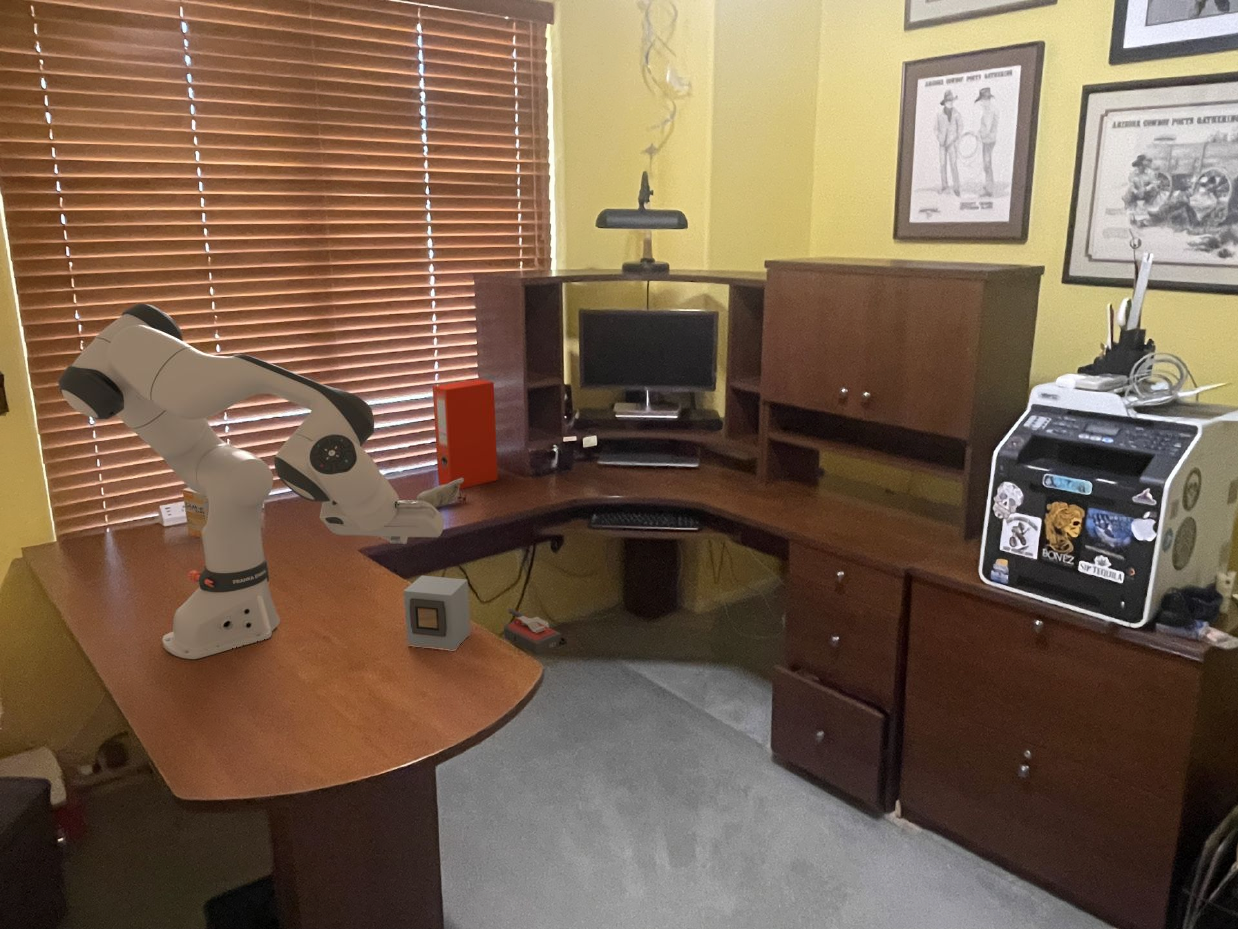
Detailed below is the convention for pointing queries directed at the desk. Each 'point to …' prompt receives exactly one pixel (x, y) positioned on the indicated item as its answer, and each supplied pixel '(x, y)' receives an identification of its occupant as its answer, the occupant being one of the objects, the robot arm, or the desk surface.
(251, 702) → the desk surface
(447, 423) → the file binder
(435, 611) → the peg
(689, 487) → the desk surface
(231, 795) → the desk surface
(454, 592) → the housing
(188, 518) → the supplement box
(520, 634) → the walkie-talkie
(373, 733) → the desk surface
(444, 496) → the decorative bird
